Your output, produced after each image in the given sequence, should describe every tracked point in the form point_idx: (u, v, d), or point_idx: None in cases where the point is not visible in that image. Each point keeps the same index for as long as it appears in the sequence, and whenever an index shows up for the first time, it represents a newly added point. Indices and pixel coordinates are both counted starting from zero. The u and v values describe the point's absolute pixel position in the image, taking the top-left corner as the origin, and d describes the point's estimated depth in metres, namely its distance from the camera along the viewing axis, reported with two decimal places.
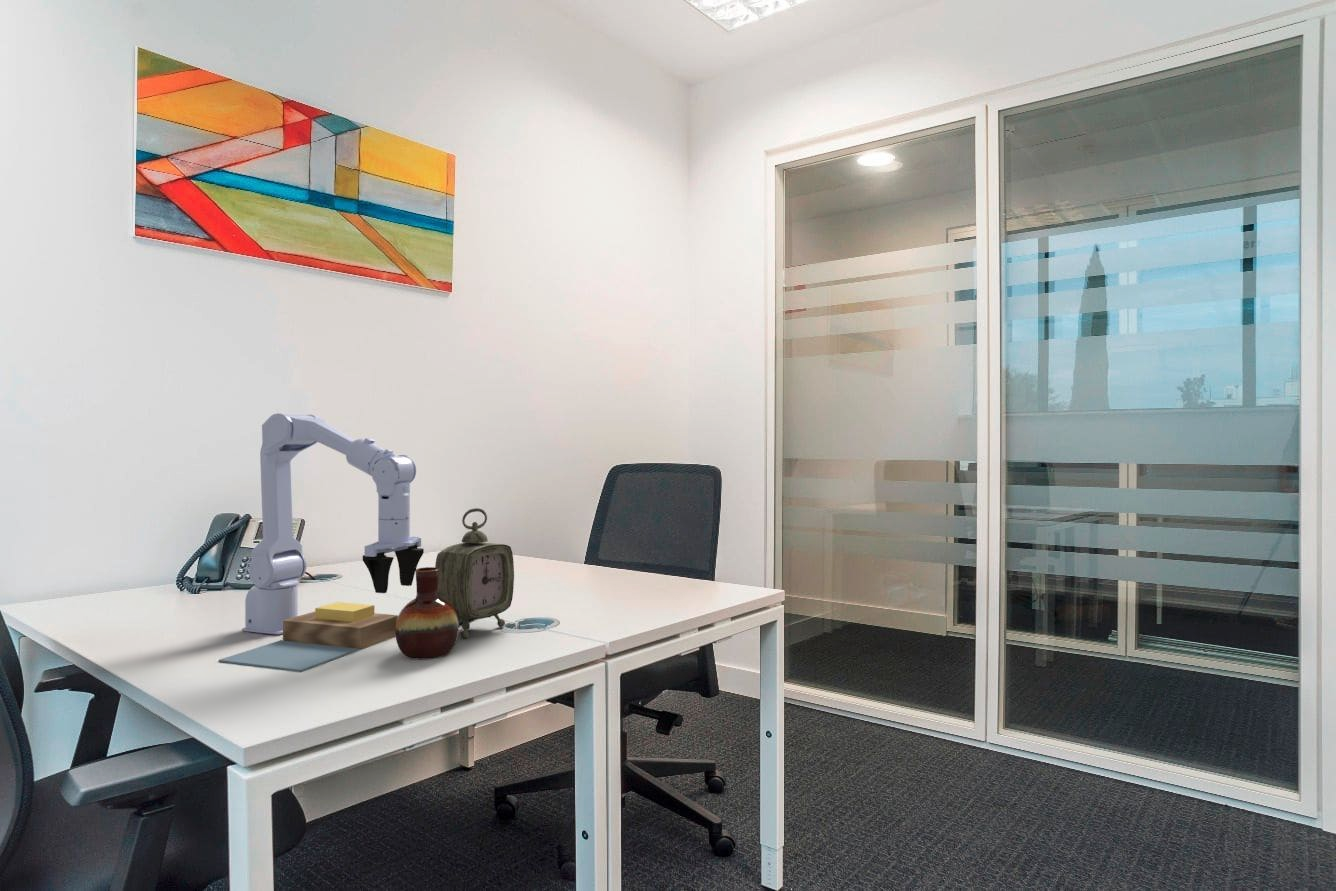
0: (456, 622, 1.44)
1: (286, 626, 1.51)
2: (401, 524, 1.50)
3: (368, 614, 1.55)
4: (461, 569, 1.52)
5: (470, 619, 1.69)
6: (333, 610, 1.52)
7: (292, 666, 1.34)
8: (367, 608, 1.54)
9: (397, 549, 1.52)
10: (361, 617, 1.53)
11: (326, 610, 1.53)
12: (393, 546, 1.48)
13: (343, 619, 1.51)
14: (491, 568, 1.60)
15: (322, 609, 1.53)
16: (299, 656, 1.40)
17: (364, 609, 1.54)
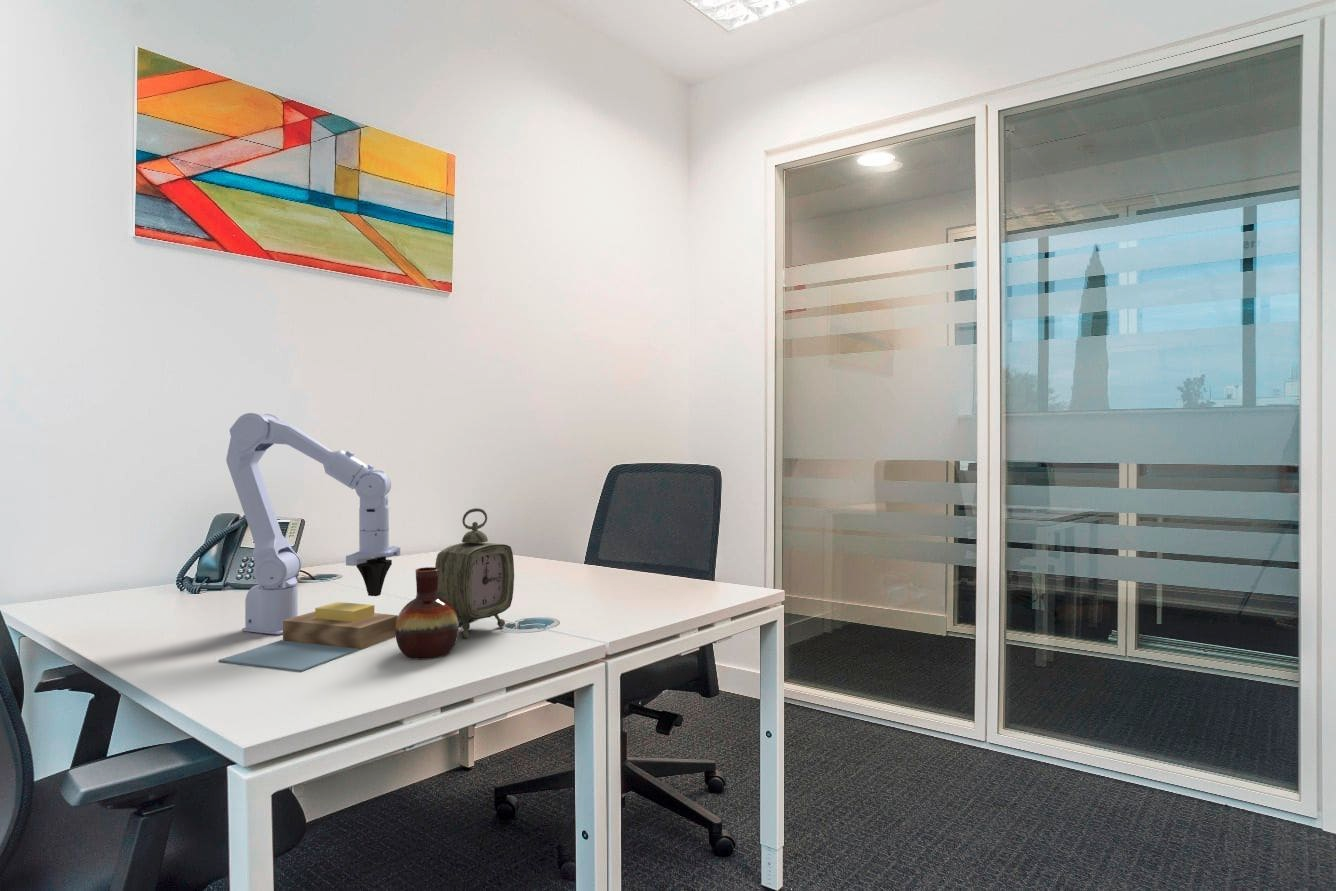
0: (456, 622, 1.44)
1: (286, 626, 1.51)
2: (380, 535, 1.61)
3: (368, 614, 1.55)
4: (462, 569, 1.52)
5: (471, 619, 1.69)
6: (333, 610, 1.52)
7: (292, 666, 1.34)
8: (367, 608, 1.54)
9: (377, 558, 1.63)
10: (361, 617, 1.53)
11: (326, 610, 1.53)
12: (373, 556, 1.59)
13: (343, 619, 1.51)
14: (491, 568, 1.60)
15: (322, 609, 1.53)
16: (299, 656, 1.40)
17: (364, 609, 1.54)
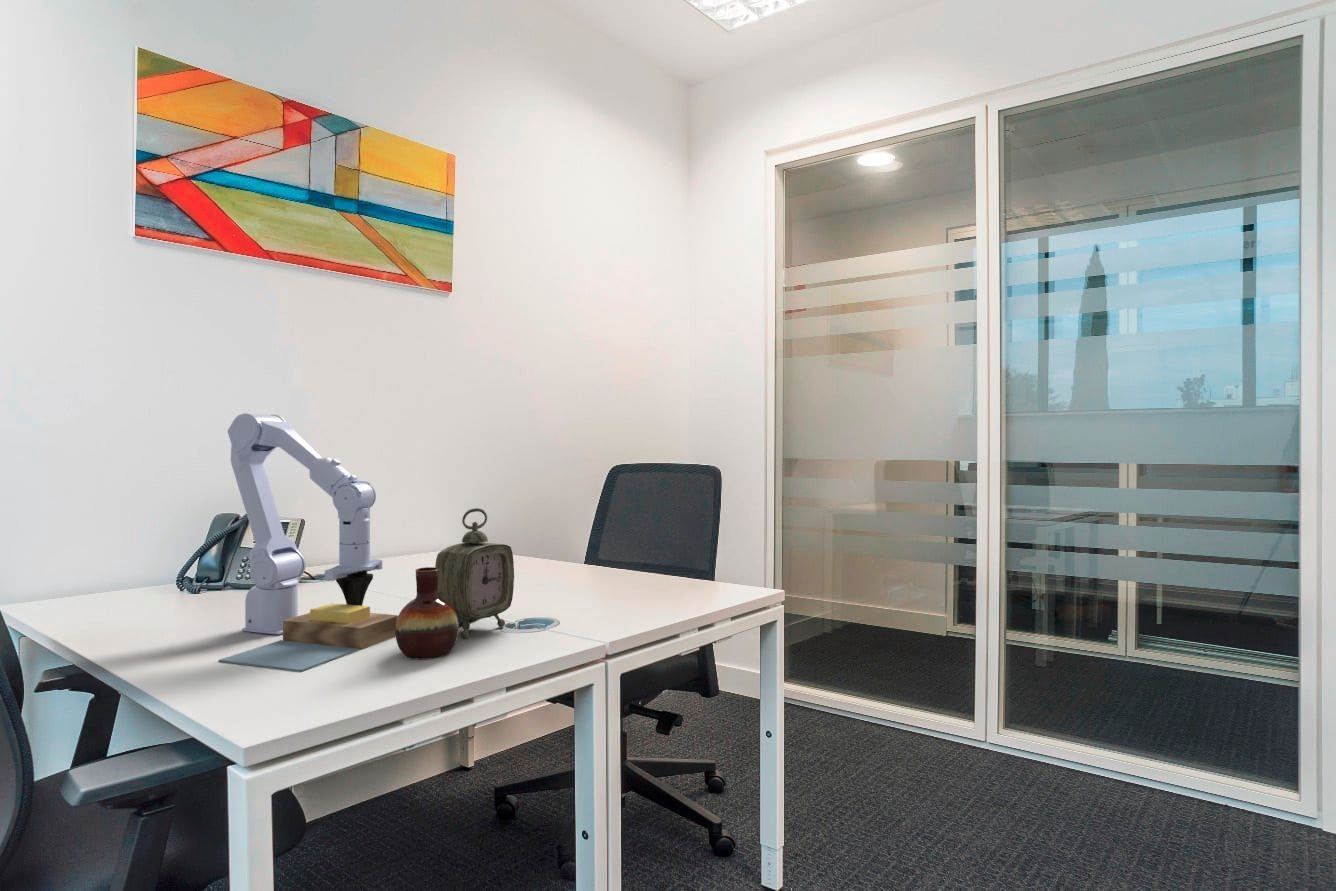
0: (456, 622, 1.44)
1: (286, 626, 1.51)
2: (361, 548, 1.55)
3: (363, 615, 1.53)
4: (462, 569, 1.52)
5: (472, 619, 1.69)
6: (328, 611, 1.51)
7: (292, 666, 1.34)
8: (362, 609, 1.53)
9: (358, 572, 1.58)
10: (356, 618, 1.52)
11: (321, 611, 1.51)
12: (353, 570, 1.54)
13: (338, 620, 1.50)
14: (491, 568, 1.60)
15: (317, 610, 1.52)
16: (299, 656, 1.40)
17: (359, 610, 1.52)
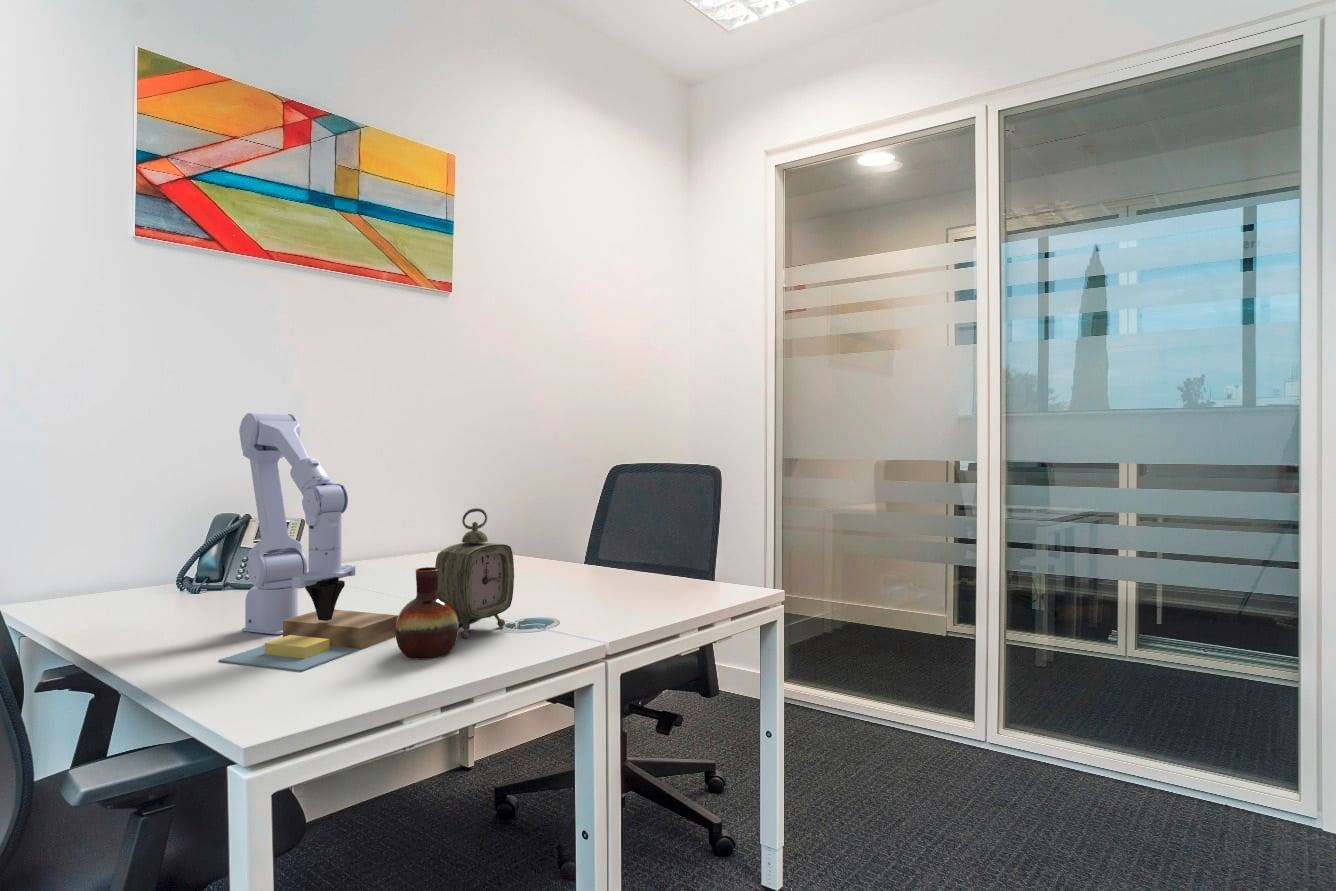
0: (456, 622, 1.44)
1: (286, 626, 1.51)
2: (331, 554, 1.48)
3: (312, 647, 1.40)
4: (462, 569, 1.52)
5: (473, 619, 1.69)
6: None
7: (292, 666, 1.34)
8: (313, 654, 1.41)
9: (328, 579, 1.50)
10: (320, 644, 1.42)
11: None
12: (322, 577, 1.46)
13: None
14: (491, 568, 1.60)
15: None
16: None
17: (317, 652, 1.42)
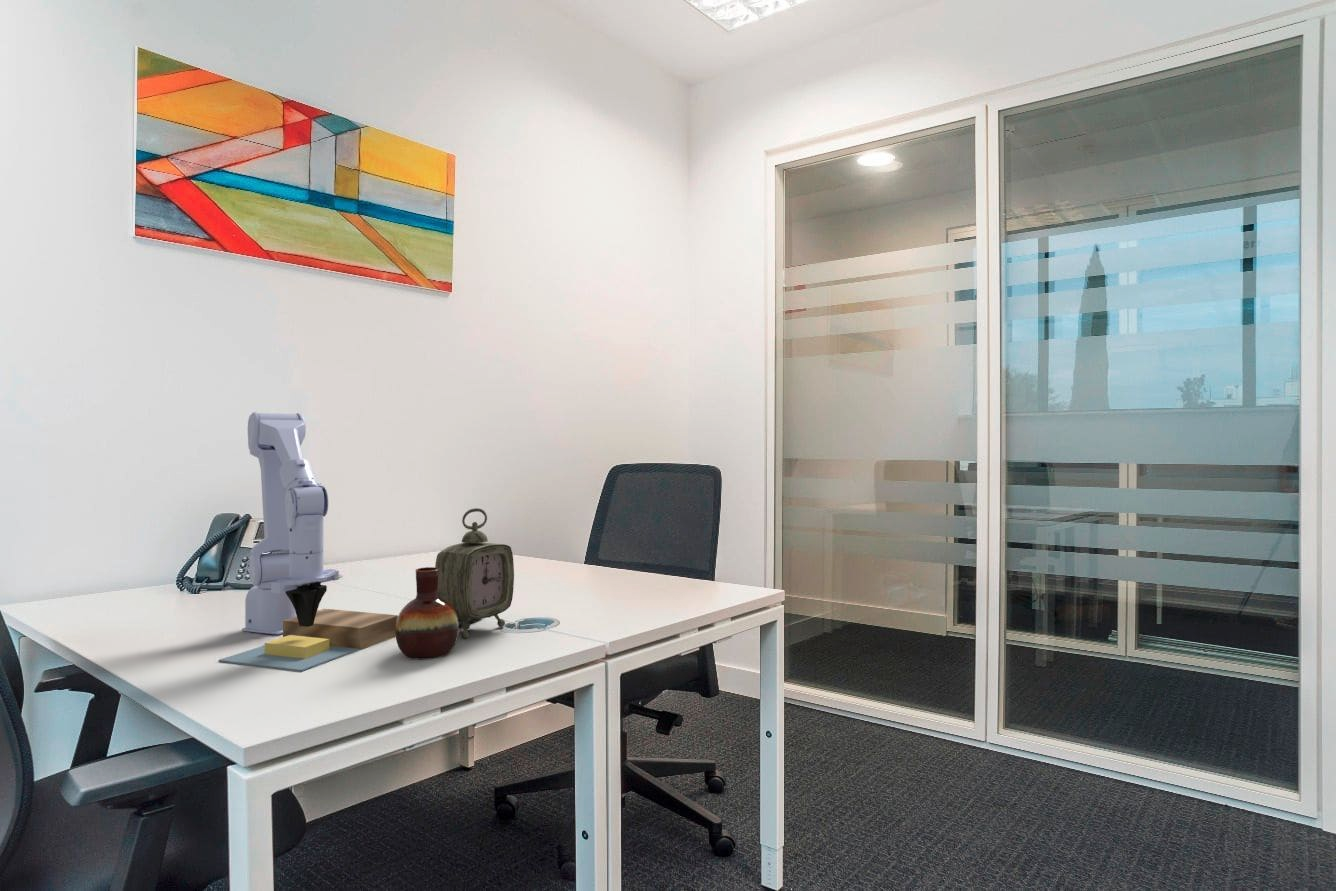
0: (456, 622, 1.44)
1: (286, 626, 1.51)
2: (312, 558, 1.43)
3: (312, 647, 1.40)
4: (461, 569, 1.52)
5: (475, 619, 1.69)
6: None
7: (292, 666, 1.34)
8: (313, 654, 1.41)
9: (310, 584, 1.46)
10: (320, 644, 1.42)
11: None
12: (303, 582, 1.42)
13: None
14: (491, 568, 1.60)
15: None
16: None
17: (317, 652, 1.42)
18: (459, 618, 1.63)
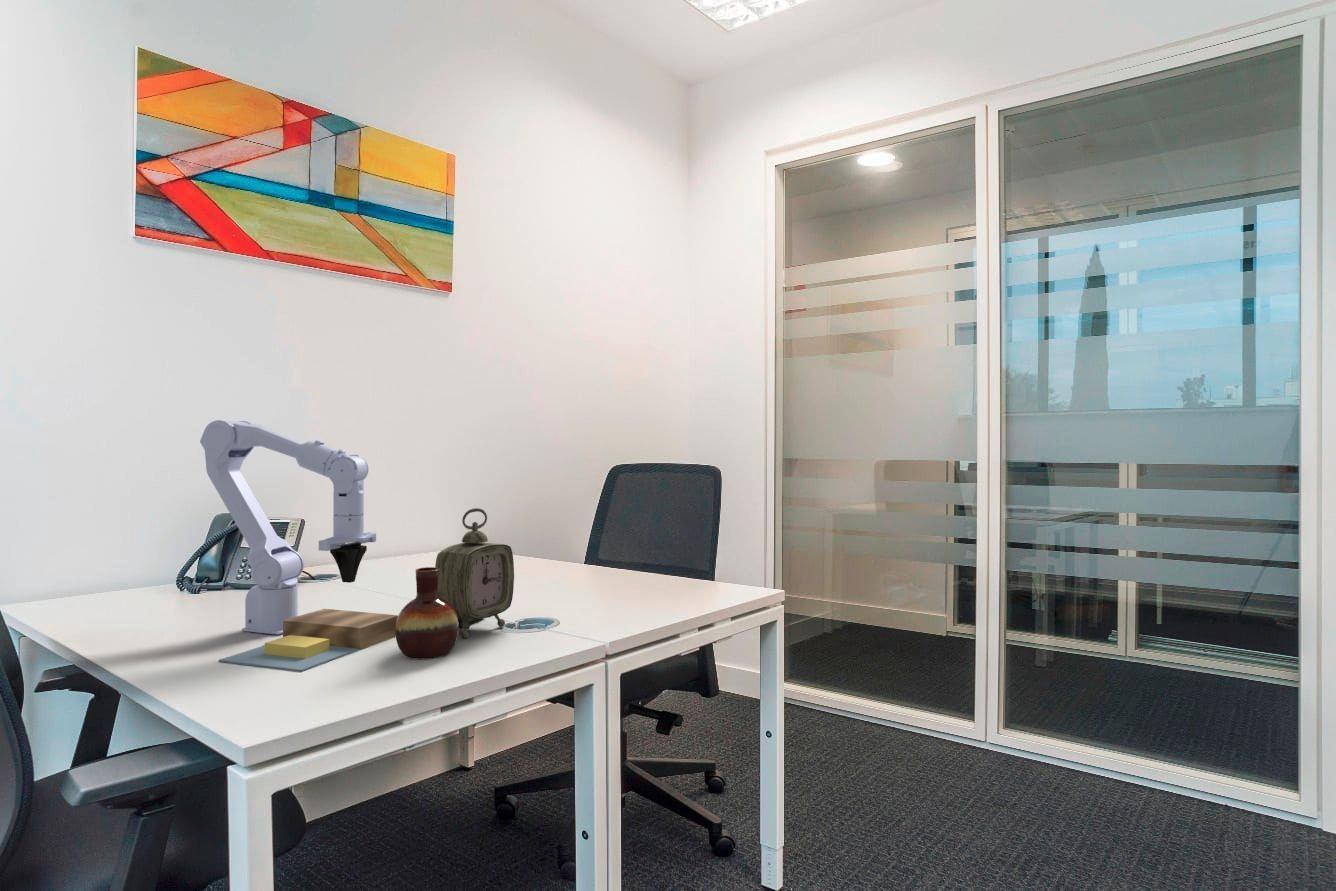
0: (456, 622, 1.44)
1: (286, 626, 1.51)
2: (355, 520, 1.58)
3: (312, 647, 1.40)
4: (462, 569, 1.52)
5: (477, 619, 1.68)
6: None
7: (292, 666, 1.34)
8: (313, 654, 1.41)
9: (351, 544, 1.60)
10: (320, 644, 1.42)
11: None
12: (346, 541, 1.56)
13: None
14: (491, 568, 1.60)
15: None
16: None
17: (317, 652, 1.42)
18: None
